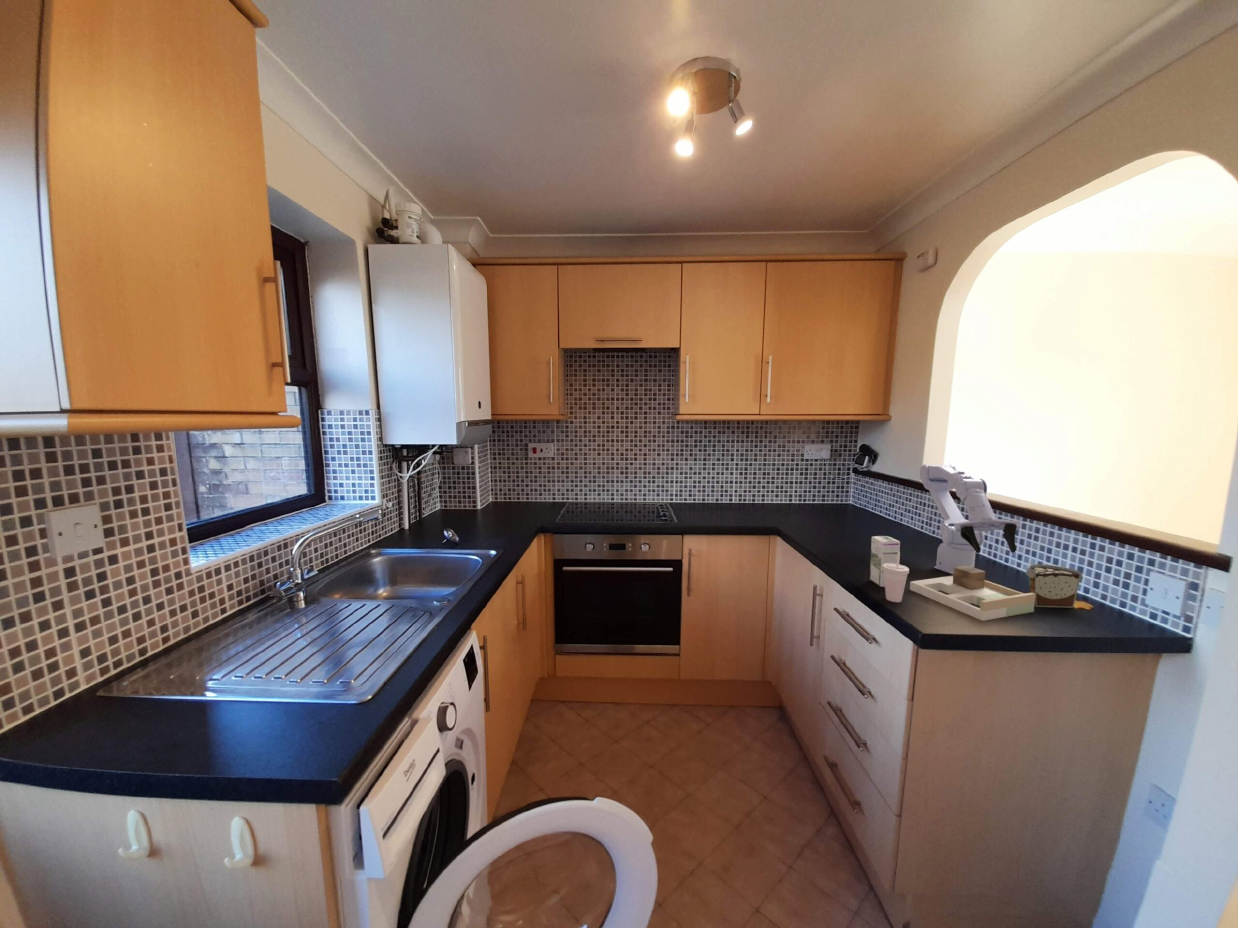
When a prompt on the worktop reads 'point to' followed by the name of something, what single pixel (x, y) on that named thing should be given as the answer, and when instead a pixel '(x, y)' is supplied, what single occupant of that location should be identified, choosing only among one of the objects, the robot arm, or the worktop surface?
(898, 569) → the smoothie
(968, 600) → the trap deck
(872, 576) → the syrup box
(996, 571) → the worktop surface
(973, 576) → the walnut block
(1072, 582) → the food container
